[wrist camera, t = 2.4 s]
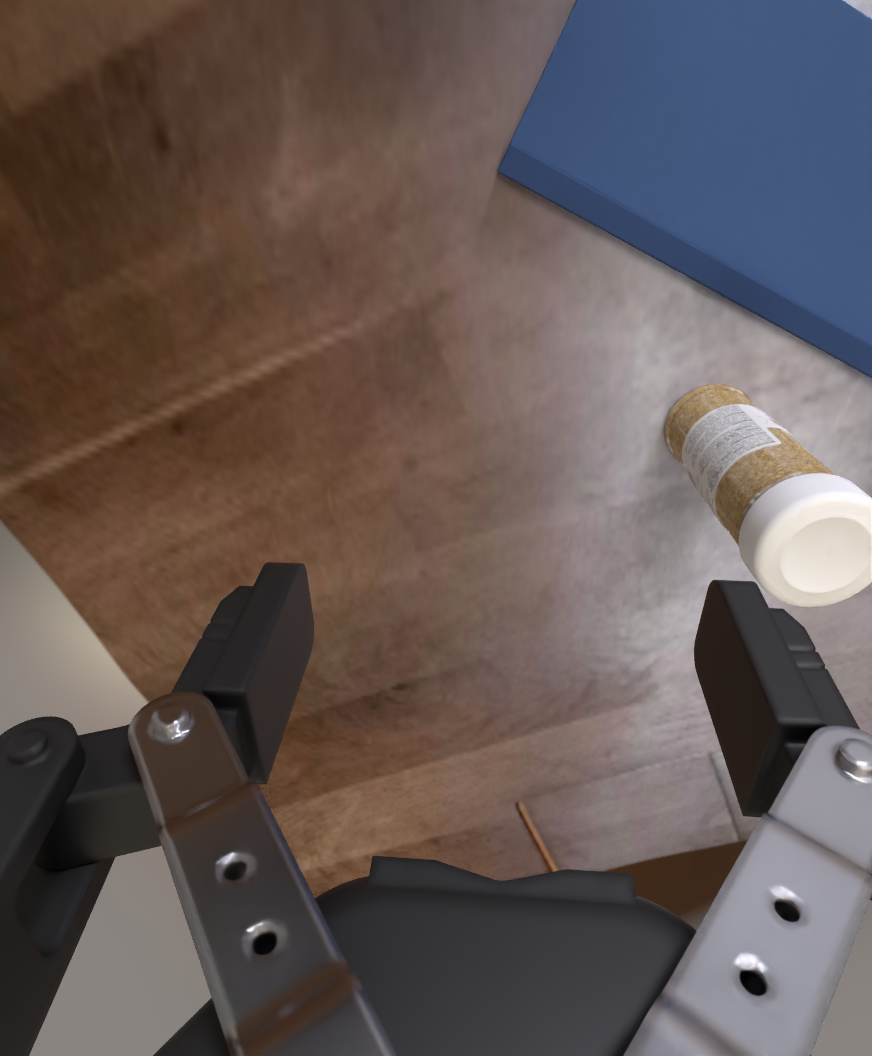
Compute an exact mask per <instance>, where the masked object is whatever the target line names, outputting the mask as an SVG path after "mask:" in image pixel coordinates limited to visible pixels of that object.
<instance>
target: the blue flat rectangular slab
mask: <svg viewBox="0 0 872 1056" xmlns="http://www.w3.org/2000/svg"><path fill="white" fill-rule="evenodd" d="M497 172H499V173H500V174H502V175H504V176H506V177H508V178H509V179H511V180H513V181H515V182H517V183H519V184H520V185H522V186H524V187H526V188H528V189H529V190H531V191H533V192H535V193H537V194H539V195H540V196H542V197H544V198H546V199H548V200H549V201H551V202H553V203H555V204H557V205H559V206H560V207H562V208H564V209H566V210H568V211H569V212H571V213H573V214H575V215H577V216H579V217H580V218H582V219H584V220H586V221H588V222H589V223H591V224H593V225H595V226H597V227H599V228H600V229H602V230H604V231H606V232H608V233H609V234H611V235H613V236H615V237H617V238H619V239H620V240H622V241H624V242H626V243H628V244H629V245H631V246H633V247H635V248H637V249H639V250H640V251H642V252H644V253H646V254H648V255H649V256H651V257H653V258H655V259H657V260H658V261H660V262H662V263H664V264H666V265H668V266H669V267H671V268H673V269H675V270H677V271H678V272H680V273H682V274H684V275H686V276H688V277H689V278H691V279H693V280H695V281H697V282H698V283H700V284H702V285H704V286H706V287H708V288H709V289H711V290H713V291H715V292H717V293H718V294H720V295H722V296H724V297H726V298H728V299H729V300H731V301H733V302H735V303H737V304H738V305H740V306H742V307H744V308H746V309H748V310H749V311H751V312H753V313H755V314H757V315H758V316H760V317H762V318H764V319H766V320H768V321H769V322H771V323H773V324H775V325H777V326H778V327H780V328H782V329H784V330H786V331H788V332H789V333H791V334H793V335H795V336H797V337H798V338H800V339H802V340H804V341H806V342H808V343H809V344H811V345H813V346H815V347H817V348H818V349H820V350H822V351H824V352H826V353H828V354H829V355H831V356H833V357H835V358H837V359H838V360H840V361H842V362H844V363H846V364H847V365H849V366H851V367H853V368H855V369H857V370H858V371H860V372H862V373H864V374H866V375H867V376H869V377H871V378H872V19H870V18H869V17H867V16H865V15H864V14H862V13H861V12H859V11H858V10H856V9H855V8H853V7H852V6H850V5H849V4H847V3H846V2H844V1H843V0H577V1H576V3H575V5H574V7H573V9H572V11H571V14H570V16H569V18H568V20H567V22H566V24H565V26H564V29H563V31H562V33H561V35H560V37H559V39H558V42H557V44H556V46H555V48H554V50H553V52H552V54H551V57H550V59H549V61H548V63H547V65H546V67H545V70H544V72H543V74H542V76H541V78H540V80H539V82H538V85H537V87H536V89H535V91H534V93H533V95H532V97H531V100H530V102H529V104H528V106H527V108H526V110H525V113H524V115H523V117H522V119H521V121H520V123H519V125H518V128H517V130H516V132H515V134H514V136H513V138H512V140H511V143H510V145H509V147H508V149H507V151H506V153H505V156H504V158H503V160H502V162H501V164H500V166H499V168H498V171H497Z"/></svg>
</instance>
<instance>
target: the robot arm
mask: <svg viewBox="0 0 872 1056" xmlns="http://www.w3.org/2000/svg"><path fill="white" fill-rule="evenodd" d="M313 639H314V620H313V613H312V606H311V599H310V592H309V585H308V578H307V572H306V568H305V566H304V564H300V563H273V562H267V563H265V565H264V566H263V568H262V570H261V572H260V574H259V576H258V578H257V580H256V582H255V584H254V586H239V587H237V588H236V589H235V590H234V591H233V592H231V593H230V594H229V595H228V596H227V597H226V598H224V599H223V600H222V601H221V602H220V604H219V605H218V607H217V609H216V611H215V613H214V615H213V617H212V618H211V623H210V624H208V626H207V628H206V629H205V631H204V633H203V637H202V639H200V640H199V642H198V644H197V646H196V648H195V650H194V652H193V653H192V655H191V657H190V659H189V661H188V663H187V664H186V666H185V668H184V670H183V672H182V674H181V675H180V677H179V679H178V681H177V683H176V685H175V686H174V688H173V690H172V692H171V693H170V694H167V695H164V696H161V697H159V698H157V699H155V700H153V701H151V702H150V703H148V704H147V705H145V706H144V707H143V708H142V709H141V710H140V711H139V712H138V713H137V714H136V715H135V716H134V718H133V719H132V721H131V723H130V724H129V725H126V726H122V727H118V728H114V729H109V730H103V731H98V732H94V733H89V734H84V735H79V736H78V735H77V733H76V730H75V728H74V727H73V725H72V724H71V723H70V722H69V721H67V720H65V719H63V718H59V717H41V718H35V719H31V720H28V721H25V722H23V723H20V724H18V725H16V726H14V727H12V728H10V729H9V730H7V731H6V732H4V733H3V734H2V735H1V736H0V1056H29V1054H30V1052H31V1050H32V1047H33V1045H34V1043H35V1041H36V1038H37V1036H38V1034H39V1031H40V1029H41V1027H42V1024H43V1022H44V1020H45V1018H46V1015H47V1013H48V1011H49V1008H50V1006H51V1004H52V1002H53V999H54V997H55V995H56V992H57V990H58V988H59V985H60V983H61V981H62V978H63V976H64V974H65V972H66V969H67V967H68V965H69V962H70V960H71V958H72V956H73V953H74V951H75V949H76V946H77V944H78V942H79V940H80V937H81V935H82V933H83V930H84V928H85V926H86V923H87V921H88V919H89V916H90V914H91V912H92V910H93V907H94V905H95V903H96V900H97V898H98V896H99V894H100V891H101V889H102V887H103V884H104V882H105V880H106V877H107V875H108V873H109V871H110V868H111V866H112V864H113V861H114V859H115V857H116V856H120V855H125V854H128V853H133V852H137V851H141V850H145V849H150V848H154V847H158V846H162V847H163V850H164V853H165V856H166V859H167V862H168V866H169V868H170V871H171V875H172V878H173V881H174V884H175V887H176V890H177V893H178V896H179V899H180V902H181V905H182V908H183V911H184V914H185V917H186V920H187V923H188V927H189V930H190V933H191V935H192V939H193V942H194V945H195V948H196V950H197V954H198V957H199V960H200V963H201V966H202V969H203V972H204V975H205V978H206V981H207V984H208V987H209V990H210V994H211V997H212V998H211V999H210V1000H209V1001H208V1002H207V1003H206V1004H205V1005H204V1006H203V1007H202V1008H201V1009H200V1010H199V1011H198V1012H197V1013H196V1014H195V1015H194V1016H193V1017H192V1018H191V1019H190V1020H189V1021H188V1022H187V1023H186V1024H185V1025H184V1026H183V1027H181V1028H180V1029H179V1030H178V1031H177V1033H175V1035H173V1037H171V1038H170V1039H169V1040H168V1042H166V1043H165V1044H164V1045H163V1046H162V1047H161V1048H160V1049H159V1050H158V1051H157V1052H156V1053H155V1054H154V1055H153V1056H811V1054H812V1051H813V1049H814V1046H815V1044H816V1041H817V1038H818V1036H819V1033H820V1030H821V1027H822V1025H823V1022H824V1019H825V1017H826V1014H827V1012H828V1009H829V1006H830V1004H831V1001H832V998H833V996H834V993H835V991H836V988H837V985H838V983H839V980H840V977H841V974H842V972H843V969H844V967H845V964H846V961H847V959H848V956H849V953H850V951H851V948H852V946H853V943H854V940H855V938H856V935H857V932H858V930H859V927H860V924H861V922H862V919H863V916H864V914H865V911H866V908H867V906H868V903H869V901H870V900H872V735H871V734H869V733H867V732H864V731H862V730H860V728H859V727H858V725H857V723H856V721H855V719H854V717H853V716H852V714H851V712H850V710H849V708H848V707H847V705H846V703H845V701H844V699H843V697H842V696H841V694H840V692H839V690H838V688H837V686H836V685H835V683H834V681H833V679H832V677H831V675H830V674H829V672H828V670H827V669H825V664H824V663H823V661H822V659H821V657H820V655H819V653H818V652H816V651H815V646H814V644H813V642H812V641H811V639H810V637H809V635H808V633H807V631H806V630H805V628H804V627H803V626H802V625H801V624H800V623H799V622H798V621H796V620H795V619H794V618H793V617H792V616H791V615H790V614H788V613H787V612H786V611H785V610H784V609H775V608H769V607H768V605H767V603H766V601H765V599H764V597H763V595H762V593H761V591H760V589H759V587H758V586H757V584H756V583H755V582H752V581H726V580H713V581H712V582H711V583H710V585H709V587H708V591H707V595H706V599H705V603H704V607H703V611H702V615H701V619H700V623H699V627H698V631H697V635H696V639H695V645H694V661H695V668H696V672H697V675H698V678H699V681H700V684H701V688H702V691H703V694H704V697H705V700H706V703H707V706H708V709H709V712H710V715H711V718H712V722H713V725H714V728H715V731H716V734H717V737H718V740H719V743H720V746H721V749H722V752H723V756H724V759H725V762H726V765H727V768H728V771H729V774H730V777H731V780H732V783H733V786H734V790H735V793H736V796H737V799H738V802H739V805H740V808H741V811H742V814H743V816H750V817H761V819H760V820H759V822H758V824H757V825H756V827H755V829H754V831H753V832H752V834H751V836H750V838H749V840H748V841H747V843H746V845H745V847H744V848H743V850H742V852H741V854H740V856H739V857H738V859H737V861H736V863H735V864H734V866H733V868H732V870H731V871H730V873H729V875H728V877H727V879H726V880H725V882H724V884H723V886H722V887H721V889H720V891H719V893H718V894H717V896H716V898H715V900H714V902H713V904H712V905H711V907H710V909H709V911H708V912H707V914H706V916H705V918H704V919H703V921H702V923H701V925H700V926H699V928H698V930H697V931H696V930H695V929H694V928H693V927H692V926H690V925H689V924H688V923H686V922H685V921H684V920H682V919H681V918H680V917H678V916H677V915H675V914H674V913H672V912H670V911H668V910H666V909H665V908H663V907H662V906H660V905H657V904H655V903H653V902H651V901H649V900H646V899H644V898H641V897H638V896H636V894H635V888H634V882H633V876H632V874H626V873H612V872H597V871H583V870H569V869H567V870H561V871H556V872H551V873H545V874H540V875H534V876H529V877H524V878H518V879H513V880H508V881H498V880H493V879H490V878H487V877H484V876H481V875H478V874H475V873H472V872H469V871H466V870H463V869H460V868H457V867H454V866H451V865H448V864H445V863H442V862H439V861H436V860H425V859H411V858H397V857H382V856H373V857H372V863H371V869H370V874H369V876H368V877H363V878H358V879H355V880H352V881H349V882H346V883H343V884H341V885H339V886H337V887H335V888H332V889H330V890H328V891H327V892H325V893H323V894H322V895H320V896H318V897H317V898H314V896H313V894H312V892H311V890H310V888H309V886H308V884H307V882H306V880H305V878H304V876H303V874H302V872H301V870H300V868H299V866H298V864H297V862H296V860H295V858H294V856H293V854H292V852H291V850H290V848H289V846H288V844H287V842H286V840H285V838H284V836H283V834H282V832H281V830H280V828H279V826H278V824H277V822H276V820H275V818H274V816H273V814H272V812H271V810H270V808H269V806H268V804H267V802H266V800H265V798H264V796H263V794H262V792H261V790H260V788H259V786H258V784H267V781H268V778H269V775H270V773H271V770H272V767H273V764H274V761H275V758H276V755H277V752H278V749H279V746H280V743H281V740H282V737H283V734H284V731H285V728H286V725H287V722H288V719H289V716H290V713H291V710H292V707H293V704H294V701H295V698H296V695H297V692H298V690H299V687H300V684H301V681H302V678H303V675H304V672H305V669H306V666H307V663H308V660H309V657H310V654H311V651H312V646H313Z"/></svg>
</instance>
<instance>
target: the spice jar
mask: <svg viewBox="0 0 872 1056" xmlns="http://www.w3.org/2000/svg"><path fill="white" fill-rule="evenodd" d="M665 440H666V444H667V446H668V448H669V450H670V452H671V453H672V454H673V456H674V457H675V459H677V460H678V461H679V462H681V463H682V464H683V466H684V469H685V471H686V473H687V475H688V476H689V478H690V479H691V481H692V482H693V484H694V485H695V487H696V488H697V489H698V491H699V492H700V494H701V495H702V497H703V498H704V500H705V501H706V502H707V504H708V505H709V507H710V508H711V510H712V511H713V513H714V514H715V515H716V517H717V518H718V520H719V521H720V523H721V524H722V525H723V526H724V527H725V528H726V529H727V530H728V531H729V532H730V534H731V536H732V537H733V538H734V539H735V541H736V543H737V544H738V546H739V549H740V554H741V557H742V559H743V561H744V563H745V564H746V566H747V567H748V569H749V570H750V572H751V573H752V574H753V576H754V577H755V578H756V580H757V581H758V582H759V584H760V585H761V586H762V587H763V588H764V590H765V591H766V592H768V593H769V594H770V595H771V596H773V597H774V598H776V599H778V600H780V601H782V602H784V603H787V604H790V605H795V606H801V607H818V606H826V605H831V604H834V603H837V602H840V601H843V600H845V599H847V598H849V597H851V596H853V595H855V594H857V593H858V592H860V591H861V590H863V589H864V588H865V587H867V586H868V585H869V584H870V583H871V582H872V498H871V497H870V496H868V495H867V494H866V493H865V492H864V491H862V490H861V489H860V488H859V487H857V486H856V485H855V484H854V483H852V482H851V481H849V480H847V479H845V478H842V477H840V476H837V475H835V474H833V473H832V472H831V471H830V470H829V469H828V468H827V467H825V466H824V465H823V464H822V463H821V462H820V461H819V460H818V459H816V458H815V457H814V456H813V455H812V454H811V453H809V452H808V451H807V449H806V448H805V447H803V446H802V445H801V444H800V443H798V442H797V441H796V439H795V438H794V437H793V436H792V435H791V434H790V433H789V432H788V431H786V430H785V429H784V428H783V427H782V426H781V425H779V424H778V423H777V422H776V421H775V420H774V419H772V418H771V417H770V416H769V415H768V414H766V413H765V412H764V411H762V410H760V409H758V408H757V407H756V406H755V405H753V403H752V402H751V401H750V399H749V398H748V397H747V396H746V395H745V394H744V393H743V392H742V391H740V390H739V389H737V388H734V387H731V386H728V385H718V384H714V385H706V386H702V387H698V388H696V389H694V390H693V391H691V392H689V393H688V394H686V395H685V396H683V397H682V398H681V399H680V400H679V401H678V402H677V403H676V404H675V405H674V407H673V408H672V409H671V410H670V413H669V415H668V418H667V420H666V426H665Z"/></svg>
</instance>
